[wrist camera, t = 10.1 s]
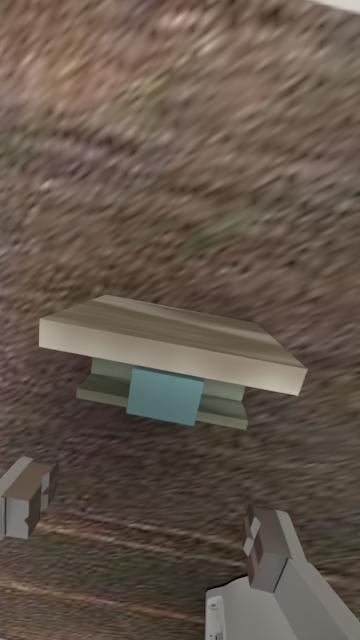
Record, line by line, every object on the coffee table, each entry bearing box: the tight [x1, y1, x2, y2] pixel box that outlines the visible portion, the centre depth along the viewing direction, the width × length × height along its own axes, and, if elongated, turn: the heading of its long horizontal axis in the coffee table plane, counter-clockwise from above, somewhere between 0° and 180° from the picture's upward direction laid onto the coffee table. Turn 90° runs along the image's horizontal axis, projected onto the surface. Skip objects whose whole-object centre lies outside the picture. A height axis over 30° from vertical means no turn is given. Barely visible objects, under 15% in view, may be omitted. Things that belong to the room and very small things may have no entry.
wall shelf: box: [39, 295, 307, 430], centre depth 22 cm, size 8×18×12 cm, turn 80°
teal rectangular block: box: [126, 365, 204, 426], centre depth 19 cm, size 4×5×7 cm
